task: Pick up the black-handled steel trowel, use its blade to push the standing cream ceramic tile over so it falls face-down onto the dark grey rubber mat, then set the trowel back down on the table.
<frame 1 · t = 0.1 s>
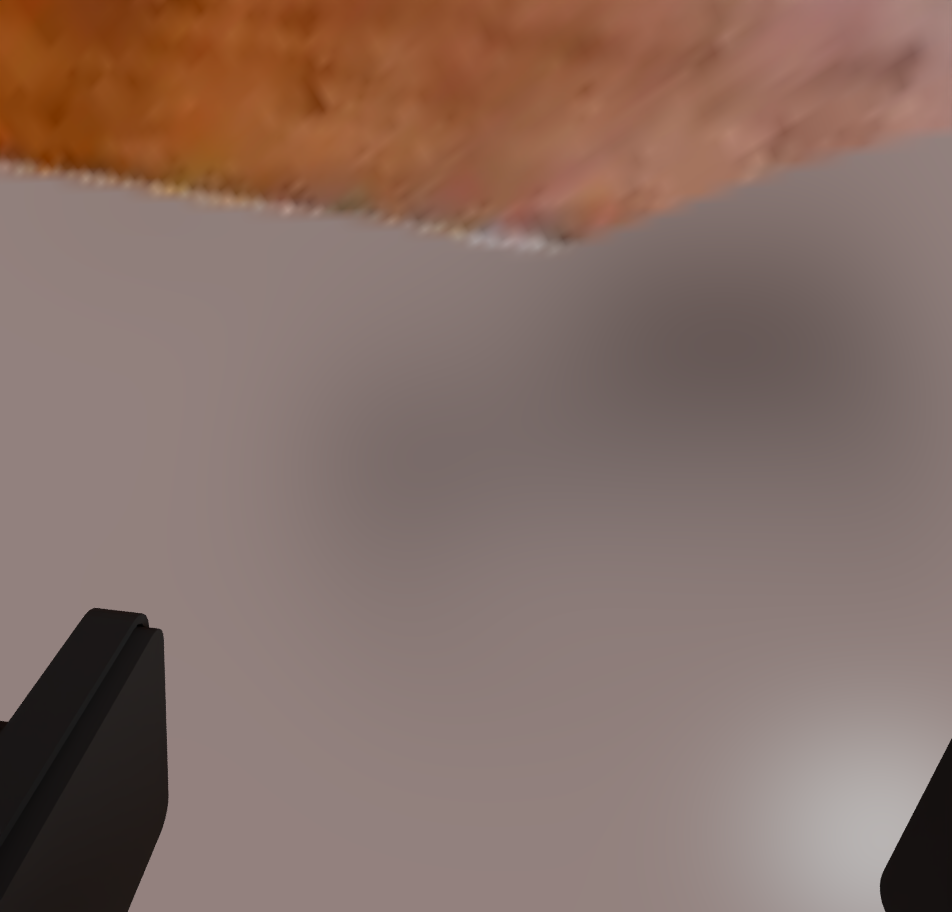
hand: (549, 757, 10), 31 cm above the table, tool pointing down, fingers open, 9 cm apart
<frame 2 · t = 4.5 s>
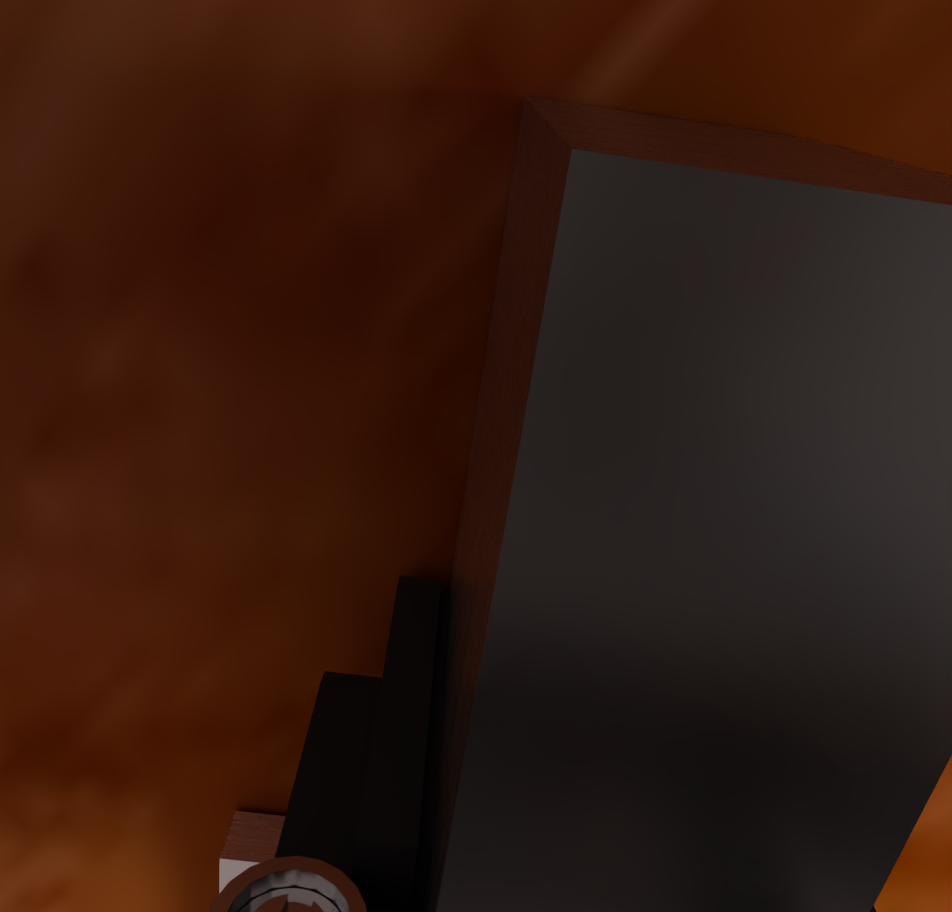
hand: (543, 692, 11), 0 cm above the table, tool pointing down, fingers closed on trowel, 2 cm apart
trowel: (542, 682, 11), on the table, touching gripper
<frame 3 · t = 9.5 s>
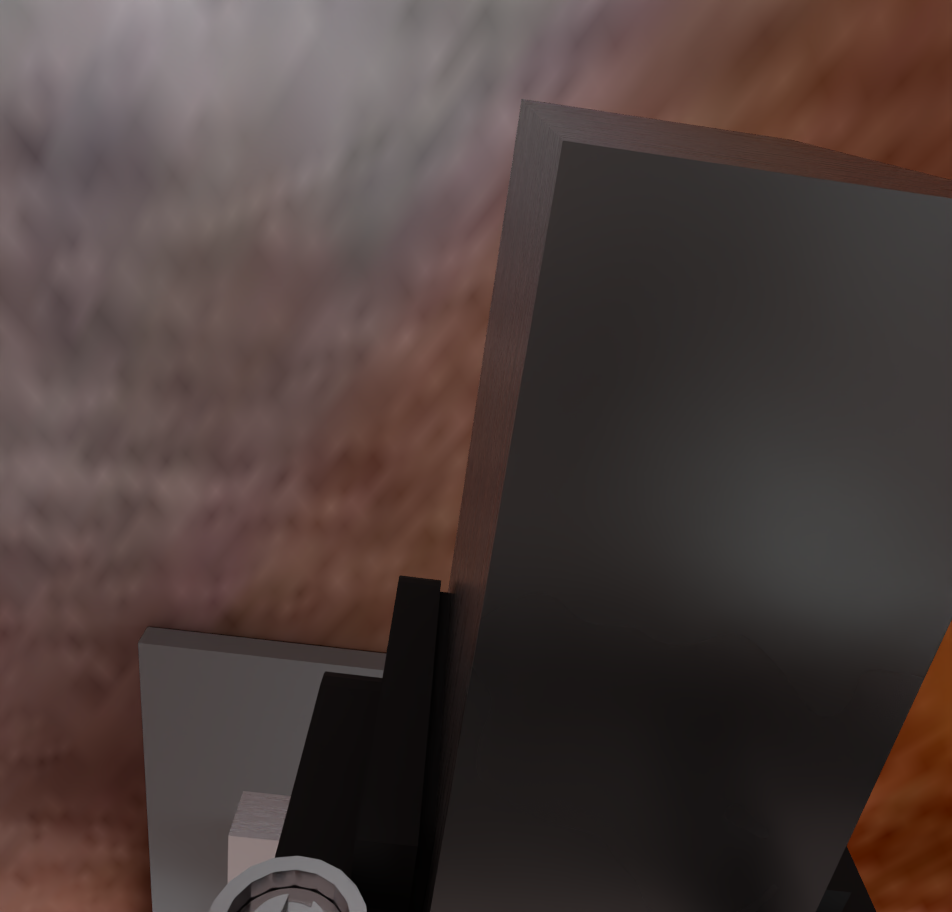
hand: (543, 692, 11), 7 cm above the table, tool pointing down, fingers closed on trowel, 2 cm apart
trowel: (540, 664, 11), point 7 cm above the table, touching gripper
mat: (479, 890, 24), on the table
when the fingers open (2 cm above the table, at t = 15.0 s): trowel stays where it is, on the table.
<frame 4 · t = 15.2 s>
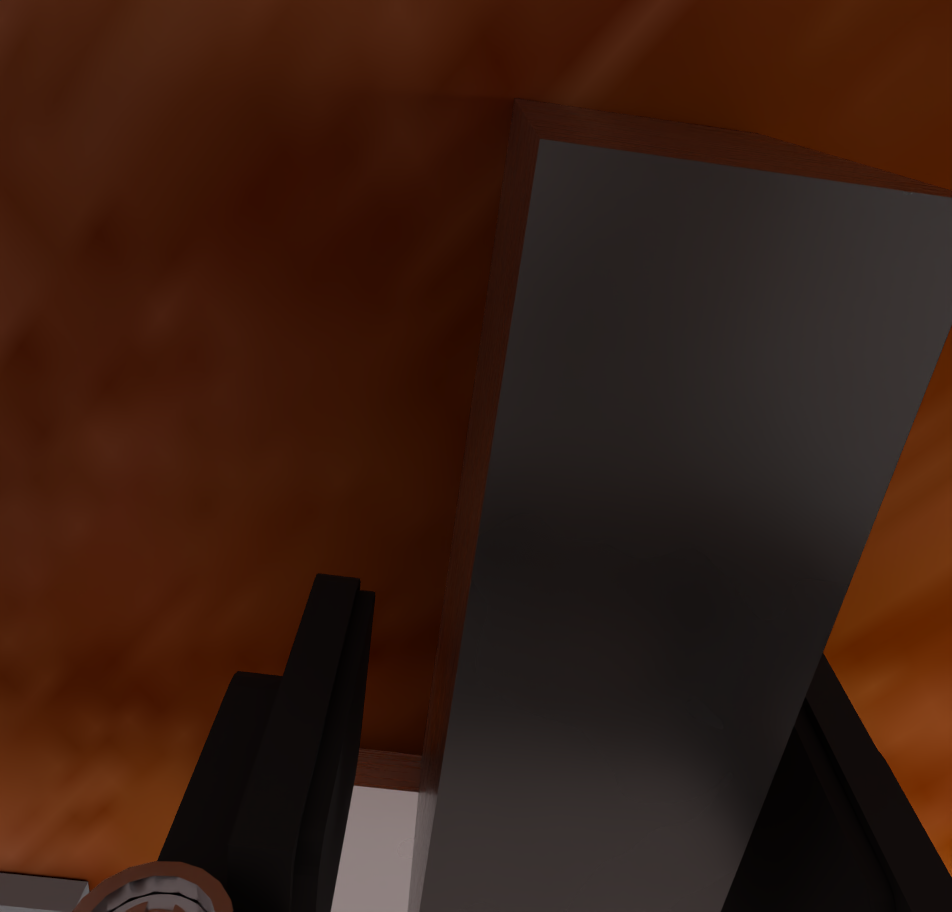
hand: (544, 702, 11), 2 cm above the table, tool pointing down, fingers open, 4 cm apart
trowel: (535, 615, 12), on the table
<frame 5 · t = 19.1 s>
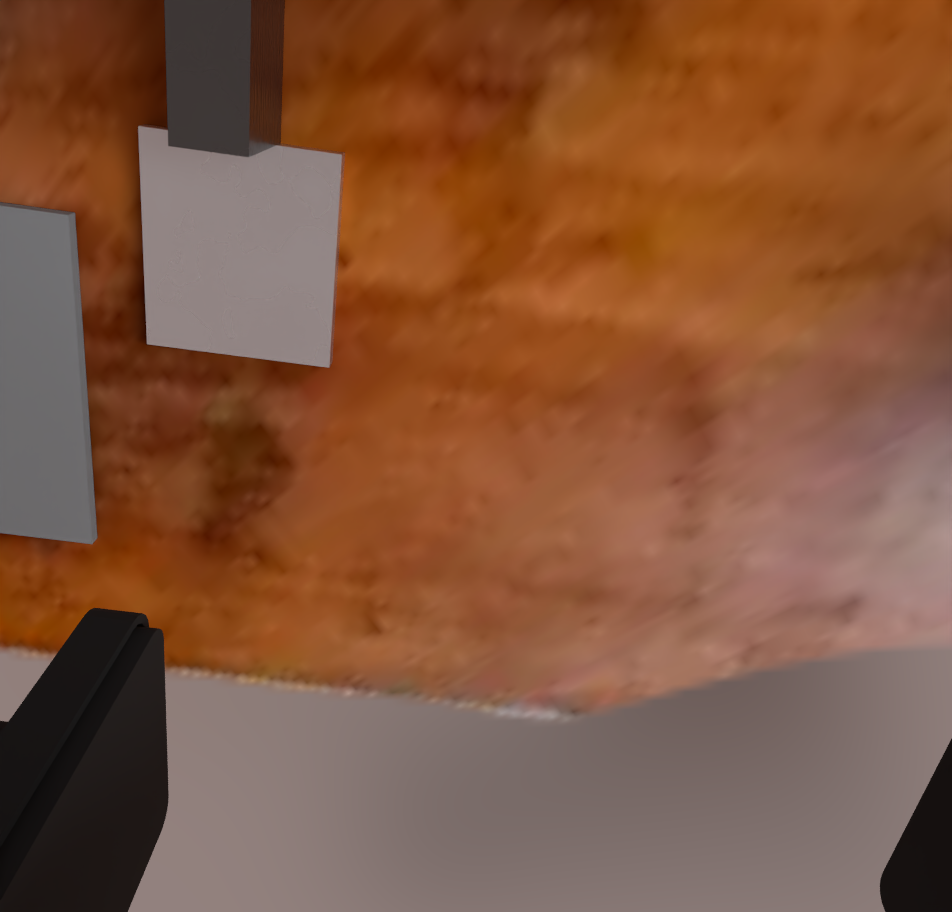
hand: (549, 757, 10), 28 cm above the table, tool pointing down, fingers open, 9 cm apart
trowel: (246, 56, 32), on the table
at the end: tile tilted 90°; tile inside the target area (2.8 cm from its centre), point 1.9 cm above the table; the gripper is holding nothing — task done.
